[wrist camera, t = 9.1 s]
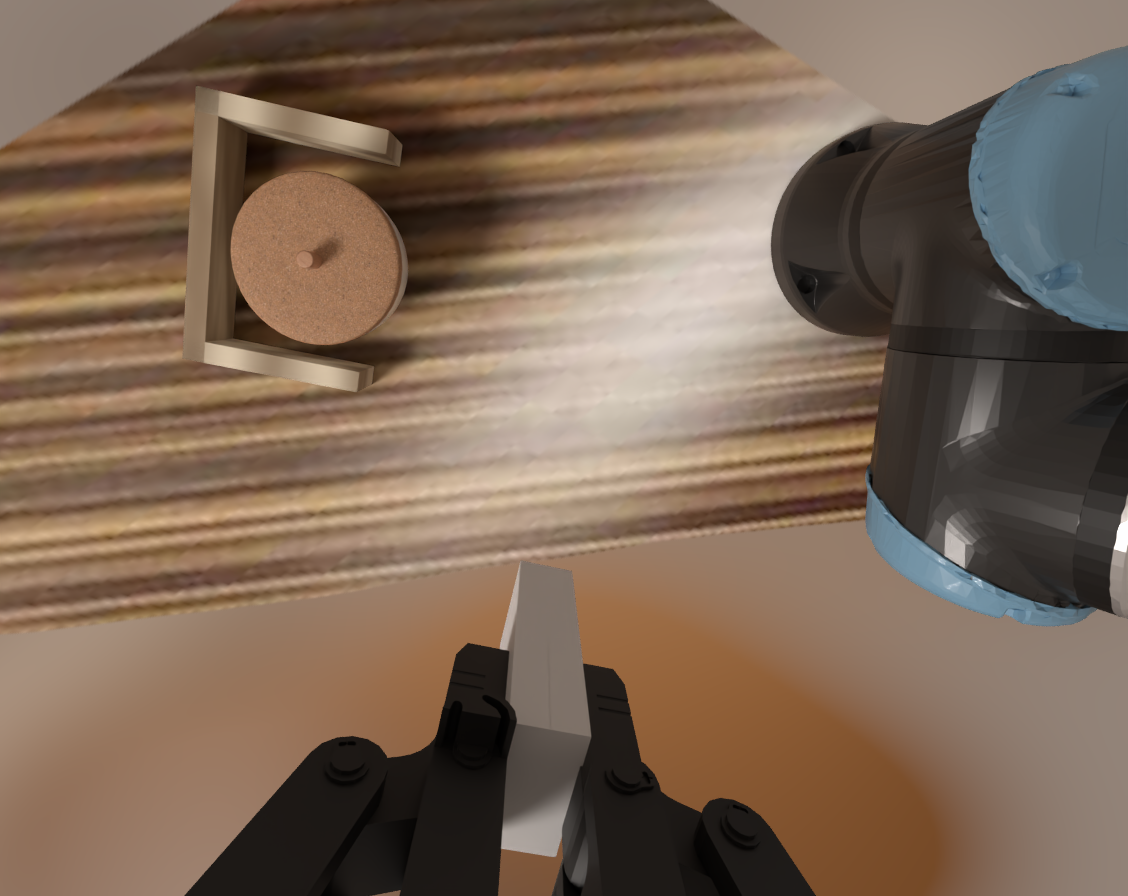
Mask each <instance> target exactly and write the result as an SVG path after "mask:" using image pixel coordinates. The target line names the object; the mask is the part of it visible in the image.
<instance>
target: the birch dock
mask: <svg viewBox="0 0 1128 896" xmlns="http://www.w3.org/2000/svg"><path fill="white" fill-rule="evenodd" d="M248 133H252V134H256V135H261V136H265V137H270V138H274V139H279V140H283V141H287V142H292V143H296V144H301V145H305V146H310V147H314V148H318V149H323V150H327V151H332V152H336V153H341V154H345V155H349V156H354V157H358V158H363V159H367V160H372V161H376V162H380V163H385V164H389V165H394V166H398V167H400V161H401V153H402V146H403V145H402V144H401V143H400V142H399V141H398V140H397V139H396V137H395V136H394V135H393V134H392V133H391V132H390V131H389V130H386V129H382V128H377V127H373V126H369V125H364V124H360V123H356V122H351V121H347V120H343V119H338V118H334V117H330V116H325V115H321V114H317V113H312V112H308V111H303V110H299V109H295V108H290V107H286V106H282V105H277V104H273V103H269V102H264V101H260V100H256V99H251V98H247V97H243V96H238V95H234V94H230V93H225V92H221V91H217V90H212V89H208V88H204V87H199V86H196V97H195V117H194V137H193V157H192V178H191V198H190V218H189V238H188V258H187V278H186V298H185V318H184V338H183V358H182V359H187V360H192V361H198V362H203V363H208V364H213V365H218V366H224V367H229V368H234V369H239V370H244V371H250V372H255V373H260V374H265V375H270V376H275V377H281V378H286V379H291V380H296V381H301V382H307V383H312V384H317V385H322V386H327V387H333V388H338V389H343V390H348V391H353V392H358V391H360V390H362V389H364V388H366V387H368V386H370V385H372V381H373V373H374V366H371V365H366V364H361V363H356V362H351V361H346V360H340V359H335V358H330V357H325V356H320V355H315V354H310V353H305V352H300V351H295V350H290V349H285V348H279V347H274V346H269V345H264V344H259V343H254V342H249V341H244V340H239V339H234V338H233V335H234V321H235V307H236V292H237V282H236V279H235V275H234V271H233V268H232V261H231V237H232V231H233V226H234V224H235V221H236V218H237V215H238V213H239V211H240V210H241V208H242V206H243V192H244V177H245V163H246V149H247V134H248Z"/></svg>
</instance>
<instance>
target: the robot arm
mask: <svg viewBox="0 0 1128 896" xmlns="http://www.w3.org/2000/svg"><path fill="white" fill-rule="evenodd" d="M771 255H772V263H773V268H774V272H775V275H776V278H777V281H778V284H779V286H780V288H781V290H782V292H783V294H784V296H785V297H786V299H787V300H788V302H789V303H790V304H791V306H792V307H793V308H794V309H795V310H796V311H797V312H798V313H799V314H800V315H801V316H802V317H804V318H805V319H806V320H808V321H809V322H811V323H812V324H814V325H816V326H817V327H820V328H822V329H824V330H827V331H830V332H833V333H837V334H843V335H851V336H861V337H873V336H882V335H888V334H890V335H889V342H888V347H887V351H886V358H885V365H884V372H883V379H882V387H881V394H880V401H879V408H878V415H877V422H876V429H875V436H874V443H873V450H872V457H871V463H870V464H869V465H868V467H867V471H866V485H867V489H868V496H867V507H866V529H867V533H868V535H869V537H870V538H871V540H872V542H873V545H874V547H875V549H876V551H877V552H878V553H879V554H880V556H881V557H882V558H883V559H884V560H885V561H886V562H887V563H888V564H889V565H890V566H891V567H892V568H894V569H895V570H896V571H897V572H899V573H900V574H901V575H903V576H904V577H906V578H907V579H908V580H910V581H911V582H913V583H915V584H916V585H918V586H920V587H922V588H923V589H925V590H927V591H929V592H931V593H933V594H935V595H937V596H938V597H941V598H943V599H945V600H947V601H950V602H952V603H954V604H957V605H959V606H961V607H964V608H967V609H969V610H972V611H975V612H978V613H982V614H985V615H989V616H992V617H996V618H1000V617H1002V616H1004V614H1006V615H1008V616H1010V617H1012V618H1014V619H1015V620H1017V621H1019V622H1021V623H1022V624H1030V625H1036V626H1060V625H1071V624H1074V623H1077V622H1079V621H1081V620H1083V619H1085V618H1086V617H1087V616H1088V615H1089V614H1091V613H1092V612H1094V611H1096V610H1097V609H1099V610H1103V611H1106V612H1108V613H1111V614H1114V615H1117V616H1119V617H1123V618H1127V619H1128V46H1125V47H1120V48H1116V49H1112V50H1108V51H1105V52H1101V53H1099V54H1096V55H1093V56H1090V57H1088V58H1085V59H1082V60H1080V61H1077V62H1075V63H1072V64H1064V65H1060V66H1056V67H1055V68H1051V69H1046V70H1042V71H1039V72H1037V73H1036V74H1035V75H1032V76H1029V77H1027V78H1024V79H1022V80H1020V81H1019V82H1018V83H1016V84H1014V85H1013V86H1012V87H1011V88H1009V89H1007V90H1005V91H1002V92H1000V93H998V94H996V95H994V96H992V97H990V98H988V99H985V100H983V101H981V102H979V103H977V104H974V105H972V106H970V107H968V108H966V109H964V110H961V111H959V112H957V113H955V114H953V115H951V116H948V117H946V118H944V119H942V120H940V121H938V122H935V123H933V124H931V125H929V126H927V125H919V124H910V123H897V122H894V123H883V124H877V125H872V126H868V127H865V128H861V129H859V130H856V131H853V132H851V133H849V134H847V135H845V136H843V137H841V138H839V139H838V140H836V141H834V142H832V143H830V144H829V145H827V146H825V147H824V148H822V149H821V150H820V151H818V152H817V153H816V154H814V155H813V156H812V157H811V158H810V159H809V160H808V161H807V162H806V163H805V164H804V165H803V166H802V167H801V168H800V169H799V171H798V172H797V173H796V174H795V176H794V177H793V178H792V180H791V182H790V183H789V185H788V186H787V188H786V190H785V192H784V194H783V196H782V198H781V200H780V203H779V205H778V208H777V211H776V214H775V218H774V223H773V228H772V236H771ZM630 715H631V712H630V707H629V704H628V698H627V694H626V689H625V684H624V683H623V682H622V680H621V679H620V678H619V676H618V675H617V674H616V672H615V671H614V670H613V669H609V668H604V667H599V666H594V665H588V664H583V661H582V653H581V644H580V636H579V627H578V618H577V609H576V601H575V592H574V583H573V575H572V571H569V570H565V569H560V568H554V567H550V566H545V565H540V564H535V563H531V562H526V561H520V566H519V570H518V574H517V578H516V582H515V586H514V590H513V594H512V598H511V603H510V607H509V611H508V615H507V619H506V623H505V627H504V632H503V635H502V639H501V644H500V649H496V648H491V647H486V646H481V645H475V644H470V643H468V644H467V645H465V646H464V647H463V648H462V649H461V650H460V651H459V652H458V653H457V654H456V658H455V662H454V666H453V670H452V675H451V679H450V683H449V687H448V692H447V696H446V701H445V704H444V707H443V710H442V714H441V719H440V723H439V728H438V732H437V735H436V737H435V739H434V740H433V741H432V742H431V743H430V745H428V746H427V747H425V748H424V749H422V750H421V751H418V752H416V753H413V754H411V755H406V756H401V757H391V758H387V756H386V754H385V753H384V752H383V750H382V749H381V748H380V747H379V746H378V745H376V744H375V743H373V742H371V741H369V740H368V739H364V738H359V737H354V736H350V737H339V738H335V739H332V740H329V741H327V742H324V743H322V744H321V745H319V746H318V747H317V748H316V749H315V750H313V751H312V752H311V753H310V754H309V755H308V756H307V757H306V758H305V759H304V761H303V762H302V763H301V764H300V765H299V766H298V767H297V769H296V770H295V771H294V772H293V773H292V774H291V776H290V777H289V778H288V779H287V780H286V781H285V782H284V783H283V785H282V786H281V787H280V788H279V789H278V790H277V791H276V792H275V794H274V795H273V796H272V797H271V798H270V799H269V800H268V801H267V803H266V804H265V805H264V806H263V807H262V808H261V809H260V811H259V812H258V813H257V814H256V815H255V816H254V817H253V818H252V820H251V821H250V822H249V823H248V824H247V825H246V826H245V828H244V829H243V830H242V831H241V832H240V833H239V834H238V835H237V837H236V838H235V839H234V840H233V841H232V842H231V843H230V845H229V846H228V847H227V848H226V849H225V850H224V852H223V853H222V854H221V855H220V856H219V857H218V858H217V859H216V861H215V862H214V863H213V864H212V865H211V866H210V867H209V868H208V870H207V871H206V872H205V873H204V874H203V875H202V876H201V877H200V879H199V880H198V881H197V882H196V883H195V884H194V885H193V887H192V888H191V889H190V890H189V891H188V892H187V893H186V895H185V896H372V895H377V894H382V893H388V892H393V891H398V890H401V892H400V896H498V886H499V872H500V856H501V849H508V850H513V851H520V852H526V853H532V854H539V855H546V856H552V857H556V854H557V851H558V847H559V844H560V841H561V837H562V845H563V860H562V863H561V866H560V870H559V873H558V876H557V879H556V883H555V886H554V890H553V893H552V896H816V895H815V894H814V892H813V891H812V889H811V888H810V886H809V885H808V883H807V882H806V880H805V879H804V877H803V876H802V874H801V873H800V871H799V870H798V868H797V867H796V865H795V864H794V862H793V861H792V859H791V858H790V856H789V855H788V853H787V852H786V850H785V849H784V847H783V846H782V845H781V843H780V841H779V840H778V838H777V837H776V835H775V834H774V832H773V831H772V829H771V828H770V826H769V825H768V824H767V823H766V822H765V821H764V819H762V817H761V816H760V815H759V814H757V813H756V812H755V811H753V810H752V809H751V808H749V807H748V806H746V805H744V804H741V803H739V802H737V801H735V800H731V799H723V798H719V799H715V800H711V801H709V802H708V803H707V805H706V806H705V807H704V808H703V811H702V813H701V812H699V811H696V810H694V809H692V808H690V807H688V806H685V805H683V804H681V803H679V802H677V801H675V800H673V799H671V798H669V797H668V796H666V795H665V794H664V793H662V792H661V790H660V786H659V783H658V781H657V779H656V777H655V774H654V773H653V772H652V771H651V770H650V769H649V768H648V767H647V766H646V764H644V763H643V762H641V758H640V753H639V748H638V744H637V739H636V735H635V730H634V726H633V721H632V717H631V716H630Z"/></svg>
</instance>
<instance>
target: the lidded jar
mask: <svg viewBox="0 0 1128 896" xmlns="http://www.w3.org/2000/svg"><path fill="white" fill-rule="evenodd" d="M231 261H232V268H233V271H234V275H235V279H236V282H237V284H238V286H239V288H240V291H241V293H242V295H243V296H244V298H245V299H246V301H247V303H248V304H249V306H250V307H251V308H252V309H253V310H254V312H255V313H256V314H257V315H258V316H259V317H260V318H261V319H262V320H263V321H264V322H265V323H266V324H268V325H269V326H270V327H272V328H273V329H275V330H276V331H278V332H279V333H281V334H283V335H285V336H287V337H289V338H291V339H294V340H297V341H300V342H303V343H309V344H315V345H333V344H339V343H345V342H348V341H351V340H354V339H357V338H359V337H361V336H363V335H365V334H367V333H369V332H371V331H373V330H375V329H376V328H377V327H379V326H380V325H381V324H383V323H384V322H385V321H386V320H387V319H388V318H389V317H390V316H391V315H392V314H393V313H394V311H395V310H396V308H397V307H398V305H399V304H400V302H401V299H402V297H403V295H404V292H405V288H406V284H407V278H408V259H407V254H406V249H405V246H404V243H403V240H402V237H401V235H400V233H399V231H398V230H397V228H396V226H395V224H394V223H393V221H392V220H391V219H390V217H389V216H388V215H387V213H386V212H385V211H384V210H383V209H382V208H381V207H380V206H379V205H378V204H377V203H376V202H375V201H374V200H373V199H372V198H371V197H370V196H369V195H367V194H366V193H365V192H363V191H362V190H360V189H359V188H358V187H356V186H355V185H353V184H351V183H349V182H347V181H345V180H344V179H342V178H339V177H336V176H333V175H330V174H327V173H321V172H316V171H298V172H292V173H286V174H283V175H281V176H278V177H275V178H273V179H271V180H269V181H268V182H266V183H264V184H263V185H261V186H260V187H259V188H258V189H257V190H255V191H254V192H253V193H252V194H251V195H250V197H249V198H248V199H247V200H246V201H245V203H244V204H243V206H242V208H241V210H240V211H239V213H238V215H237V218H236V221H235V224H234V226H233V231H232V237H231Z"/></svg>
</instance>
